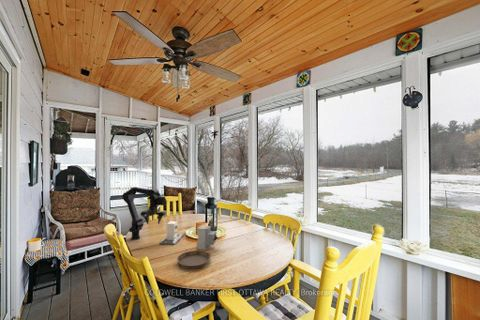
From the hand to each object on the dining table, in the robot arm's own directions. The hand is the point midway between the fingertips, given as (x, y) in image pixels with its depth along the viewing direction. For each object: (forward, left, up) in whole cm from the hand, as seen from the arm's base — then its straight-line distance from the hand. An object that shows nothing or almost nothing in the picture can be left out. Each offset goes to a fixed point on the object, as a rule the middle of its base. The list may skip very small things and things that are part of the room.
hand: (153, 224), depth 173 cm
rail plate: (+3, +15, -13) cm, 20 cm away
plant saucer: (+48, +28, -14) cm, 57 cm away
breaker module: (+3, +15, -12) cm, 19 cm away
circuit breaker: (+27, +40, -13) cm, 50 cm away
